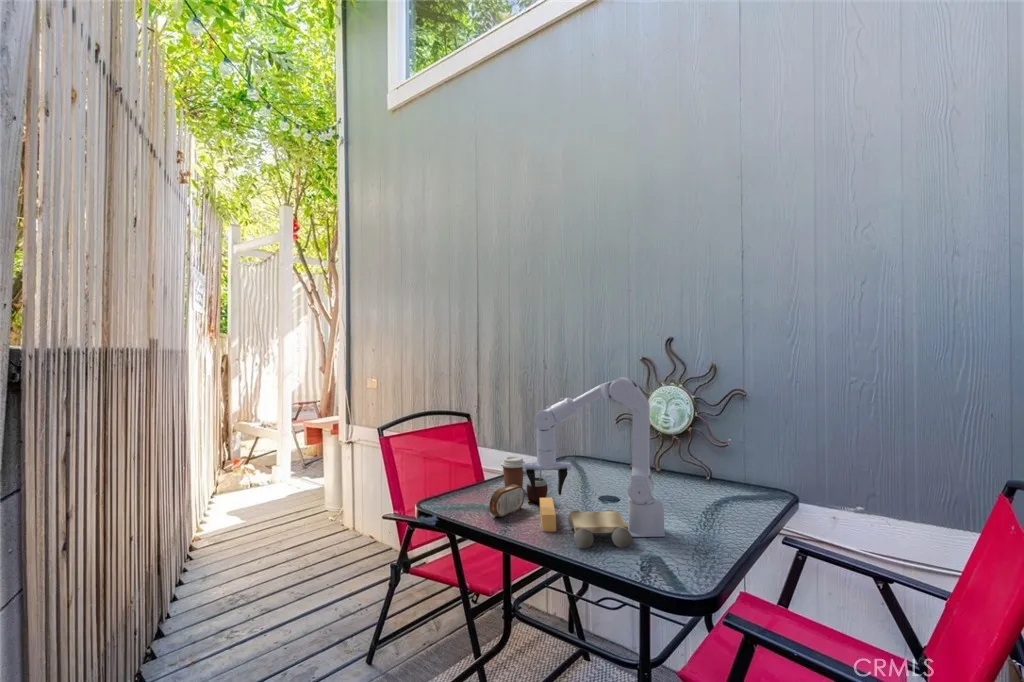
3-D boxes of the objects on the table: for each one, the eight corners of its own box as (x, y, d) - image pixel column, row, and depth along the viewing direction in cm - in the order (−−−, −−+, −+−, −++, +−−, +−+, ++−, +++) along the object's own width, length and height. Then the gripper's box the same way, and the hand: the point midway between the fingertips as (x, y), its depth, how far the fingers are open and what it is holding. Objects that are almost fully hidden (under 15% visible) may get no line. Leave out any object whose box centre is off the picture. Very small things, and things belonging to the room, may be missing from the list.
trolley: (618, 526, 143) (618, 509, 143) (631, 547, 128) (631, 528, 128) (567, 527, 143) (567, 510, 143) (574, 548, 128) (574, 529, 128)
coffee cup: (499, 494, 176) (499, 461, 176) (503, 487, 185) (502, 455, 185) (524, 494, 175) (524, 461, 175) (527, 487, 184) (526, 455, 184)
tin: (519, 506, 163) (518, 481, 163) (526, 508, 161) (526, 482, 161) (488, 519, 151) (488, 491, 151) (496, 521, 149) (496, 493, 149)
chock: (552, 513, 156) (552, 497, 156) (556, 532, 140) (555, 514, 140) (539, 513, 156) (539, 497, 156) (542, 532, 140) (542, 514, 140)
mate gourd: (529, 507, 162) (528, 461, 162) (524, 500, 169) (523, 456, 170) (551, 505, 163) (550, 460, 163) (545, 498, 171) (544, 455, 171)
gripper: (568, 446, 153) (569, 489, 152) (522, 447, 152) (522, 490, 152) (571, 451, 145) (572, 496, 145) (522, 451, 145) (523, 497, 145)
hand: (547, 494), depth 148 cm, fingers open, 7 cm apart
